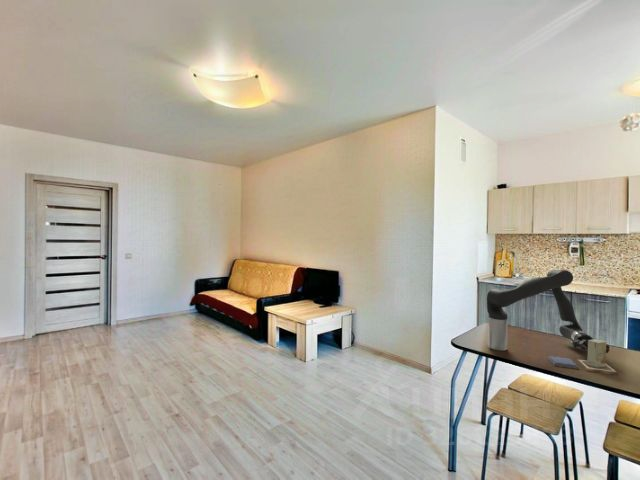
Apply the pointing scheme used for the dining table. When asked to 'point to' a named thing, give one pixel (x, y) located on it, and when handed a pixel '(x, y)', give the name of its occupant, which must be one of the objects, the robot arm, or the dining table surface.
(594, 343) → the skincare box
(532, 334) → the dining table surface
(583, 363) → the marked board
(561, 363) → the ink pad
